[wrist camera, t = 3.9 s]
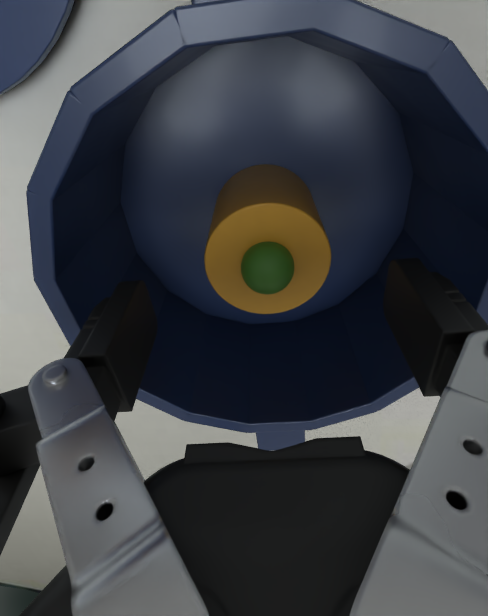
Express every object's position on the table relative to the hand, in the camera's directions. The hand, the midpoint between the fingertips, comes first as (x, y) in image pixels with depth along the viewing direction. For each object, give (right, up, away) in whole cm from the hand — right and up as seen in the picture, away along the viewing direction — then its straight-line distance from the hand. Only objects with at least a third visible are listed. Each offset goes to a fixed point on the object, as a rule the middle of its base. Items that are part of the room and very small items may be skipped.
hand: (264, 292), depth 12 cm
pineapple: (0, +4, +5) cm, 7 cm away
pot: (0, +4, +6) cm, 7 cm away
